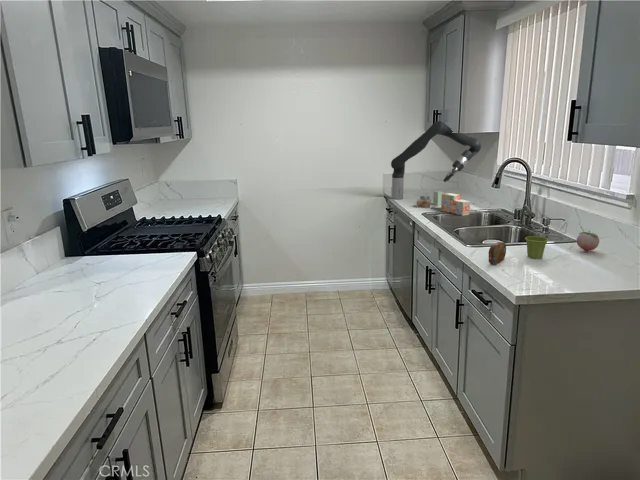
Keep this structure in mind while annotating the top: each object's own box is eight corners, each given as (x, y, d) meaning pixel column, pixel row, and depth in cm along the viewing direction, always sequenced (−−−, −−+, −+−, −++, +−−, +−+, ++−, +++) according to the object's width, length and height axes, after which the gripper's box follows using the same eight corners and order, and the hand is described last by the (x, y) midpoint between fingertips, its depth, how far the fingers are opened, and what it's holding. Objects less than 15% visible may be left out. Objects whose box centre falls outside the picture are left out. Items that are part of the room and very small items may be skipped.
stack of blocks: (469, 215, 292) (470, 196, 289) (462, 216, 290) (463, 197, 287) (447, 209, 311) (448, 192, 308) (440, 210, 309) (441, 193, 305)
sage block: (437, 205, 326) (438, 192, 324) (433, 204, 330) (433, 191, 328) (442, 204, 328) (443, 191, 326) (438, 204, 333) (438, 190, 330)
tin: (493, 266, 189) (495, 248, 187) (486, 265, 191) (487, 246, 189) (506, 258, 200) (507, 240, 198) (499, 257, 202) (500, 239, 200)
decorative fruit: (601, 252, 205) (604, 231, 202) (592, 255, 201) (595, 234, 198) (581, 247, 213) (583, 227, 210) (572, 250, 208) (574, 230, 206)
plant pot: (518, 255, 204) (520, 237, 202) (536, 253, 206) (538, 235, 204) (532, 261, 195) (534, 242, 193) (550, 258, 197) (553, 240, 195)
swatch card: (431, 208, 315) (431, 207, 315) (431, 207, 321) (432, 206, 321) (444, 209, 312) (444, 208, 312) (444, 207, 318) (444, 206, 318)
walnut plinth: (416, 208, 321) (417, 201, 320) (418, 205, 329) (418, 199, 328) (429, 208, 318) (429, 201, 317) (430, 206, 327) (430, 199, 325)
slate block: (424, 204, 332) (424, 196, 330) (420, 203, 336) (420, 195, 335) (429, 203, 334) (429, 196, 333) (425, 202, 338) (425, 195, 337)
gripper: (453, 161, 324) (439, 178, 325) (458, 158, 310) (443, 176, 311) (461, 168, 324) (447, 184, 325) (467, 165, 309) (451, 183, 310)
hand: (445, 180), depth 318 cm, fingers open, 8 cm apart
